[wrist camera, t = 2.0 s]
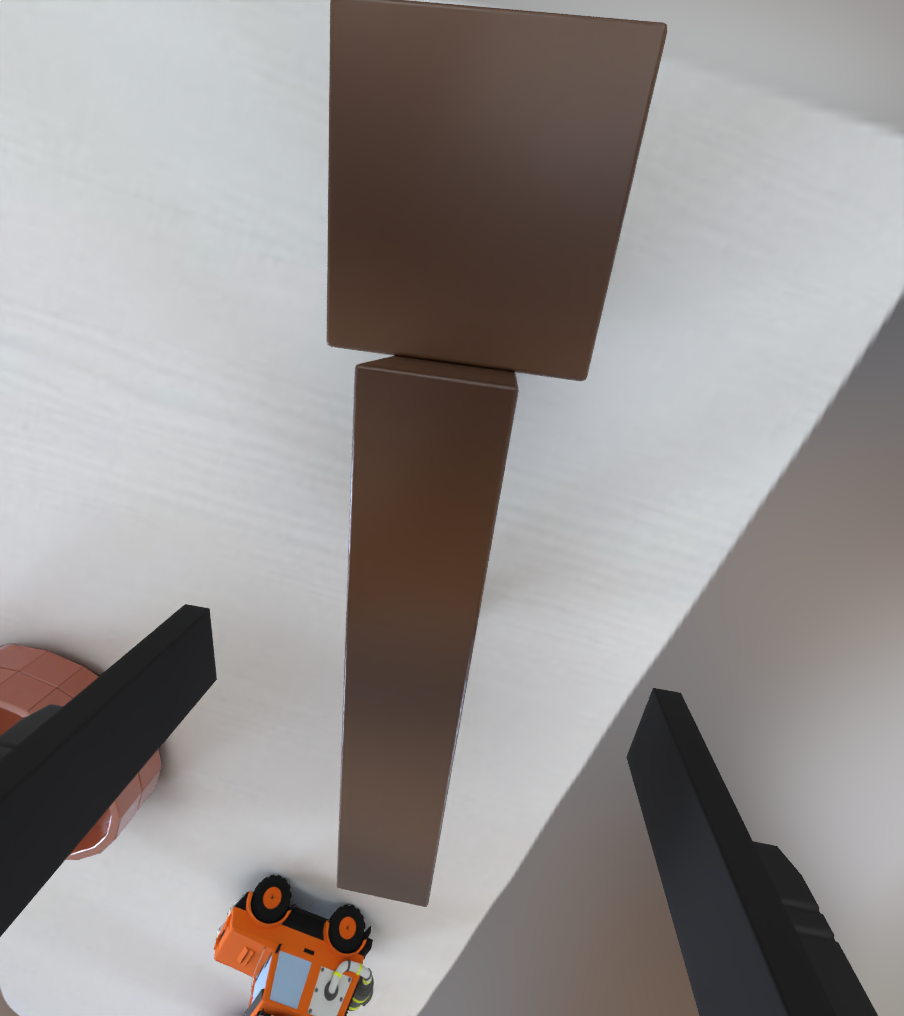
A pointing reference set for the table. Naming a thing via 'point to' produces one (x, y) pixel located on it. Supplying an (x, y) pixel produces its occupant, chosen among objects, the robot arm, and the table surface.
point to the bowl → (56, 680)
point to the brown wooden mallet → (453, 346)
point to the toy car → (296, 954)
